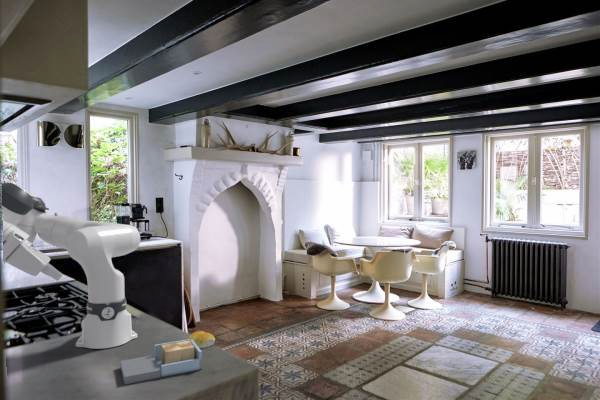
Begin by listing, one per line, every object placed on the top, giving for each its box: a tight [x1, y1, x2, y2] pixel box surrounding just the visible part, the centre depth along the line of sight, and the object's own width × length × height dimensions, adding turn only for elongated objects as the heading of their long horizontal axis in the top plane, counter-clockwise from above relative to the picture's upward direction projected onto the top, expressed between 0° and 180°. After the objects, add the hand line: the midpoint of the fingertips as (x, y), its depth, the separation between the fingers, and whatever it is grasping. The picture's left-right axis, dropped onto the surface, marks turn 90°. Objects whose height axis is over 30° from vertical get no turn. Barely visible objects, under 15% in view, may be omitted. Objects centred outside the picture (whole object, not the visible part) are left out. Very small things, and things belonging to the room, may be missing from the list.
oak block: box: [162, 341, 194, 365], centre depth 124 cm, size 6×5×8 cm
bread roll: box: [187, 330, 216, 349], centre depth 141 cm, size 8×9×4 cm
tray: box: [153, 338, 203, 378], centre depth 124 cm, size 12×11×5 cm
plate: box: [120, 354, 162, 385], centre depth 119 cm, size 12×9×2 cm
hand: (60, 277), depth 111 cm, fingers closed
